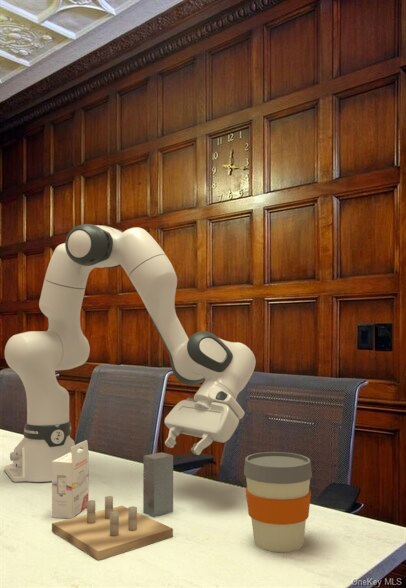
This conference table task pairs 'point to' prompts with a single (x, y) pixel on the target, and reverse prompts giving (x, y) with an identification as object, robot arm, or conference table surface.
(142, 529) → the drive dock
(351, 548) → the conference table surface
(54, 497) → the ink cartridge box
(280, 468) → the reusable coffee cup
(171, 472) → the plate
